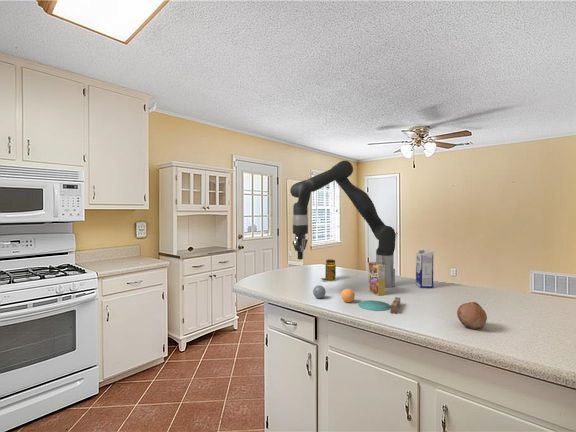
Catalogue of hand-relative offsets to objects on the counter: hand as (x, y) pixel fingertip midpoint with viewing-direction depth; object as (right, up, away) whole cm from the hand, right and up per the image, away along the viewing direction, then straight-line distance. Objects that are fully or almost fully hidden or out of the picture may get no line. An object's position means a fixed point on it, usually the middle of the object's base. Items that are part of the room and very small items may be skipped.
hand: (300, 259), depth 157 cm
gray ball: (+9, -15, -4) cm, 18 cm away
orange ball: (+22, -15, -10) cm, 28 cm away
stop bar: (+40, -19, -19) cm, 48 cm away
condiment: (+18, -17, +34) cm, 42 cm away
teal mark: (+32, -18, -15) cm, 40 cm away
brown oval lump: (+61, -20, -40) cm, 76 cm away
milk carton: (+69, -18, +18) cm, 73 cm away
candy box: (+39, -18, +5) cm, 43 cm away
